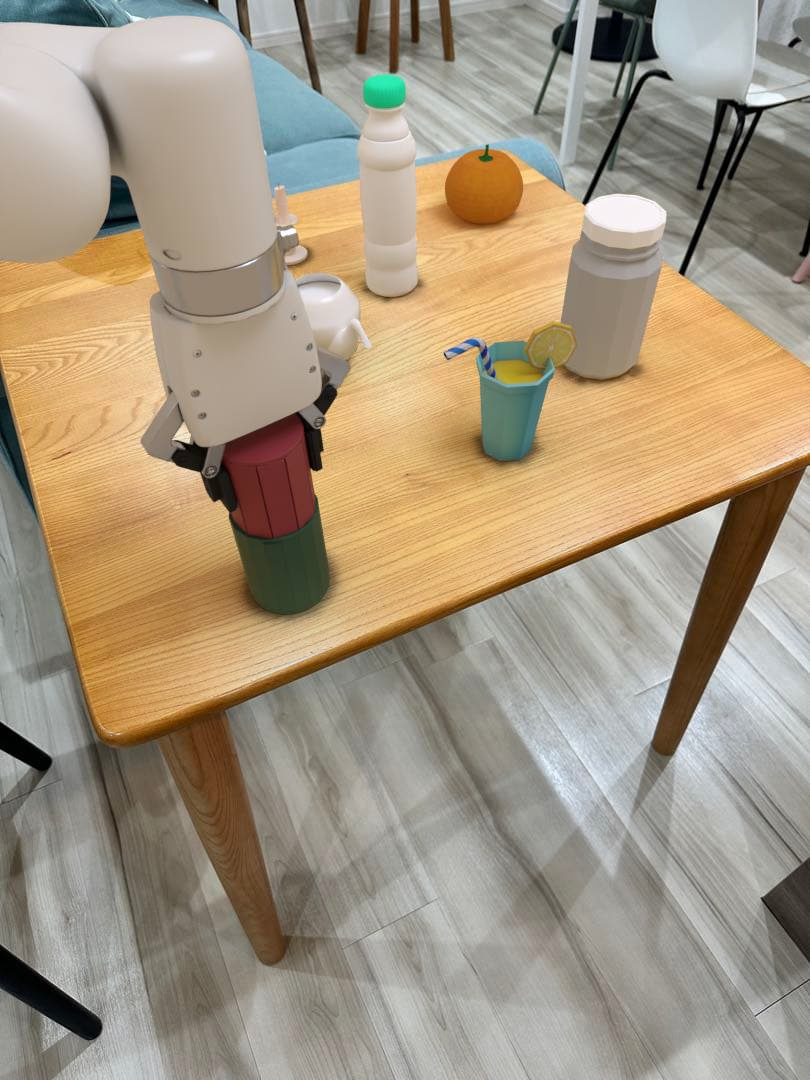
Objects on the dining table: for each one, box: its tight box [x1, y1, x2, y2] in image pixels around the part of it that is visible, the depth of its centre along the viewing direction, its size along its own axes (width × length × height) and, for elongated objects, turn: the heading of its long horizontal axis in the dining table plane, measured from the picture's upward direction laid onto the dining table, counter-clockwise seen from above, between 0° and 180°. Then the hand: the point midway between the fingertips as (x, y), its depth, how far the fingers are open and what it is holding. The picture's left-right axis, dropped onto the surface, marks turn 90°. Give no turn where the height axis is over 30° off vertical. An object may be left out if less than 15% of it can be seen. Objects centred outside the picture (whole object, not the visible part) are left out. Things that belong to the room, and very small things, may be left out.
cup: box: [443, 320, 578, 462], centre depth 74 cm, size 14×8×15 cm, turn 118°
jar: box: [560, 193, 667, 381], centre depth 82 cm, size 10×10×18 cm
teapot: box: [286, 265, 373, 361], centre depth 87 cm, size 10×20×9 cm, turn 38°
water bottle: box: [356, 73, 419, 298], centre depth 92 cm, size 7×7×25 cm
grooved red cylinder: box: [221, 413, 316, 538], centre depth 57 cm, size 7×7×8 cm
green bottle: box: [228, 493, 331, 615], centre depth 62 cm, size 7×7×15 cm
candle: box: [273, 182, 309, 266], centre depth 103 cm, size 5×5×10 cm
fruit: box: [444, 144, 524, 225], centre depth 110 cm, size 12×12×10 cm
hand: (268, 479), depth 58 cm, fingers closed on grooved red cylinder, 6 cm apart
